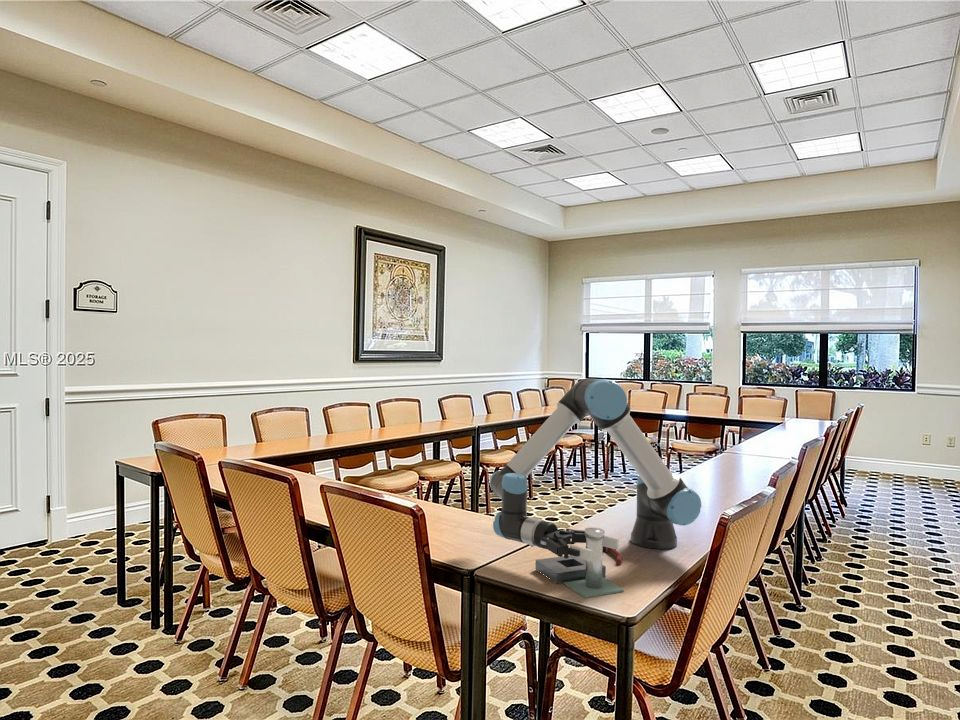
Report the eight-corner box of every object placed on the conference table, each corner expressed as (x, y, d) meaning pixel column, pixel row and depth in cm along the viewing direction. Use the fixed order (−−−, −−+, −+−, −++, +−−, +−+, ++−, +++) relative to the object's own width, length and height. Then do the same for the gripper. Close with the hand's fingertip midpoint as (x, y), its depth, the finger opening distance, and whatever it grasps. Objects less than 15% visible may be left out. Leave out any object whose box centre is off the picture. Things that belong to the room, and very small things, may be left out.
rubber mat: (601, 579, 173) (601, 576, 173) (623, 591, 164) (623, 589, 164) (564, 584, 168) (564, 582, 168) (585, 597, 159) (585, 595, 159)
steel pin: (596, 581, 170) (597, 526, 170) (607, 587, 165) (608, 531, 165) (580, 583, 168) (581, 528, 168) (590, 590, 163) (591, 533, 163)
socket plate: (582, 563, 186) (582, 553, 186) (605, 576, 175) (605, 566, 175) (535, 570, 180) (535, 559, 180) (556, 584, 169) (556, 573, 169)
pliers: (627, 548, 204) (627, 540, 204) (621, 567, 185) (621, 558, 185) (592, 544, 208) (592, 536, 208) (582, 563, 188) (583, 554, 188)
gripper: (564, 537, 188) (627, 553, 173) (513, 556, 169) (579, 575, 155) (564, 513, 187) (628, 526, 173) (513, 529, 169) (580, 545, 155)
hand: (605, 550), depth 164 cm, fingers open, 13 cm apart
